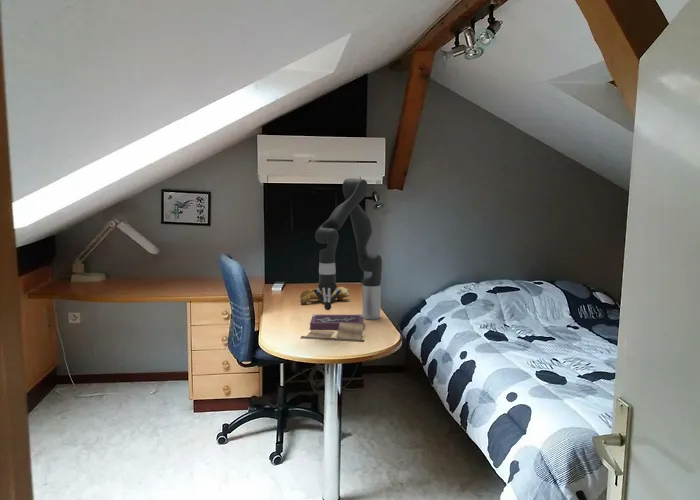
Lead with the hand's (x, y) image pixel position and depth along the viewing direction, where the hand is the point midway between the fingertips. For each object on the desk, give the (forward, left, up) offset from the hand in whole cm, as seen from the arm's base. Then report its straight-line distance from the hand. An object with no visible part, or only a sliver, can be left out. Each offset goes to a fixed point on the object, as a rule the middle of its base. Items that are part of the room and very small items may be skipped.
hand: (327, 309), depth 247 cm
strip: (+7, +4, -13) cm, 15 cm away
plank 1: (+1, -3, -12) cm, 13 cm away
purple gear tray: (-16, +1, -13) cm, 21 cm away
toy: (-69, -20, -13) cm, 73 cm away
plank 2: (+1, +11, -10) cm, 14 cm away
